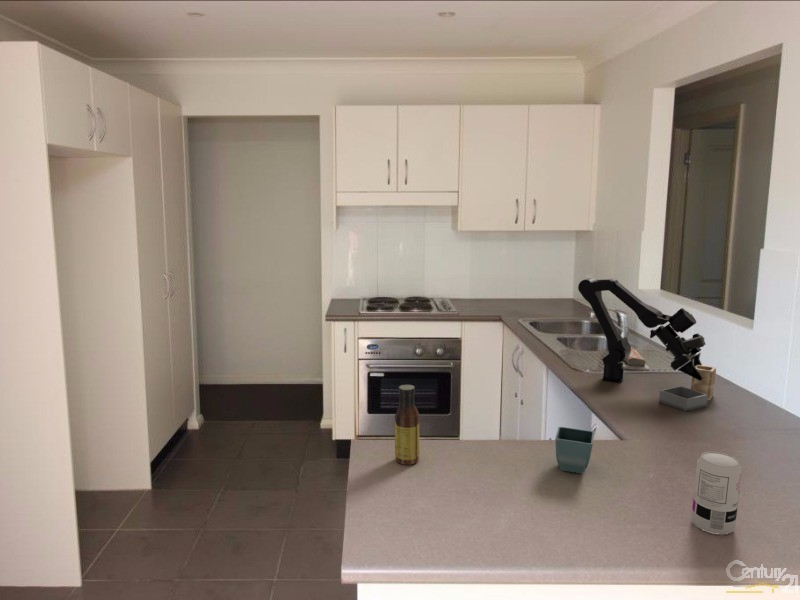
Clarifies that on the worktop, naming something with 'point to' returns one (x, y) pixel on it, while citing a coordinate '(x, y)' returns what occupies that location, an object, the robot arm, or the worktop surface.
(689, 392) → the grey square tray
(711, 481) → the supplement can
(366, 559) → the worktop surface
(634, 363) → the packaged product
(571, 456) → the flower pot
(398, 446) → the sauce bottle
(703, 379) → the tall pine crate
